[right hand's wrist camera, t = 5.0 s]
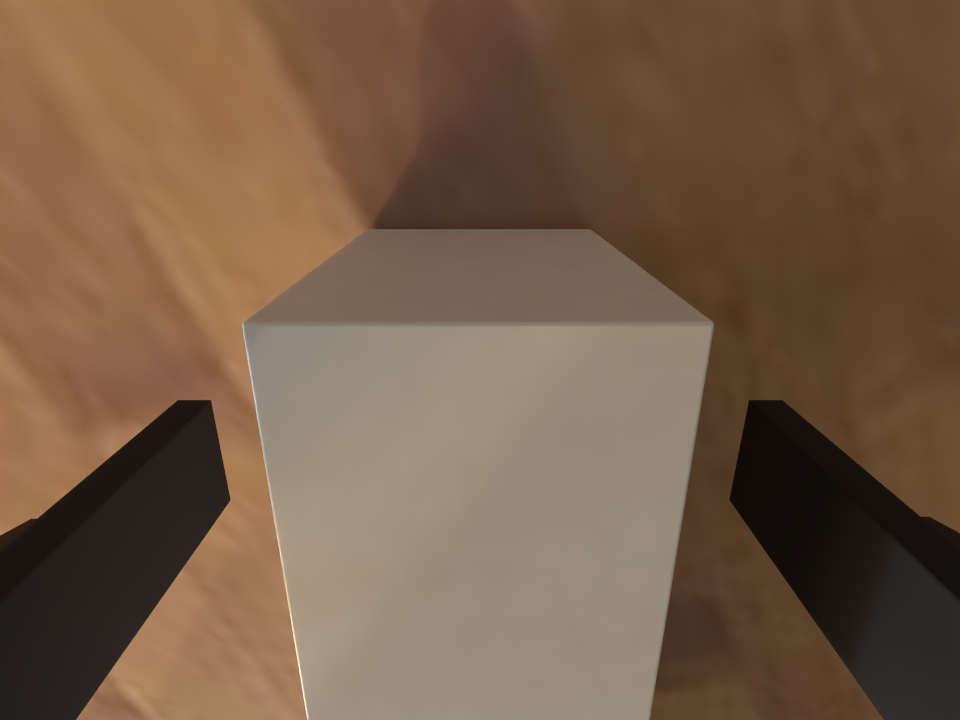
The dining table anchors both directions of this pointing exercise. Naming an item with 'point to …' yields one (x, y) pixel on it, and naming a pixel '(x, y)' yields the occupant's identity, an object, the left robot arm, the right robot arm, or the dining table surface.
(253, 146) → the dining table surface
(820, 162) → the dining table surface
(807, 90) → the dining table surface
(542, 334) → the bar
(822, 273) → the dining table surface
